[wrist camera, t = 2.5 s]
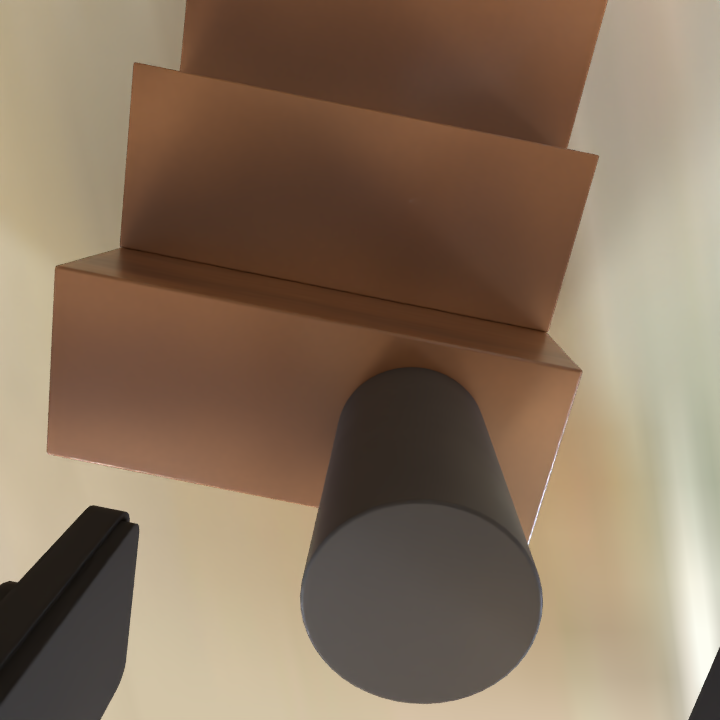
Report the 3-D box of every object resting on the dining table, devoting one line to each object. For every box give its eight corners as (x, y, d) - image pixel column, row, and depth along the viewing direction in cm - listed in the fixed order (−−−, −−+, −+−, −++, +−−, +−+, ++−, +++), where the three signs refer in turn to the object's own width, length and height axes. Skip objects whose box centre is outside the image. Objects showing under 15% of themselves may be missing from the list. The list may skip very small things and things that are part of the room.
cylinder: (351, 352, 16) (321, 477, 10) (501, 382, 16) (574, 528, 10) (325, 486, 18) (282, 680, 11) (465, 514, 18) (508, 725, 11)
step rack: (220, -66, 23) (76, -258, 13) (585, 8, 23) (739, -124, 13) (175, 349, 28) (44, 455, 18) (478, 410, 28) (527, 551, 18)
